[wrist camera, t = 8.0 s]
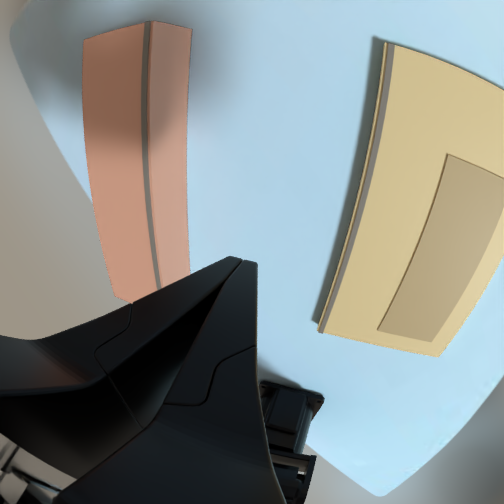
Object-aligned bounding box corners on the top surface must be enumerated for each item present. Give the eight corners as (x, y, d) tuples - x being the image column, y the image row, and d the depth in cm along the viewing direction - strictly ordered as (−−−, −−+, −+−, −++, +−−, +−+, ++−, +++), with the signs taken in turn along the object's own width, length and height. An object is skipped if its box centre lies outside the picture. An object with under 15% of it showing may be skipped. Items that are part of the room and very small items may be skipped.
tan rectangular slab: (437, 351, 18) (438, 358, 17) (318, 324, 20) (316, 331, 19) (541, 117, 7) (548, 119, 7) (383, 44, 10) (385, 42, 9)
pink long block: (191, 288, 22) (167, 319, 19) (139, 270, 23) (114, 296, 20) (192, 29, 12) (152, 20, 9) (124, 40, 13) (82, 39, 10)
